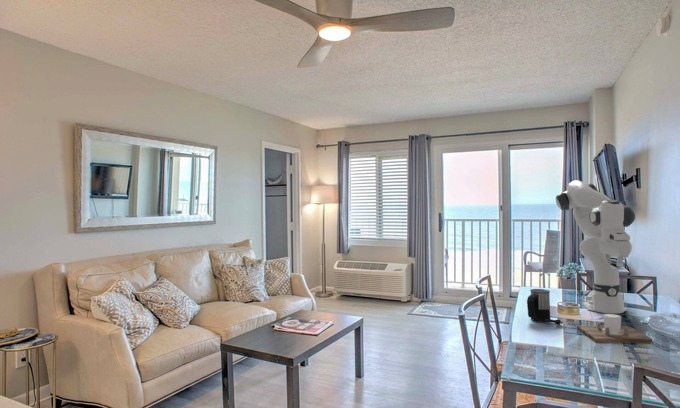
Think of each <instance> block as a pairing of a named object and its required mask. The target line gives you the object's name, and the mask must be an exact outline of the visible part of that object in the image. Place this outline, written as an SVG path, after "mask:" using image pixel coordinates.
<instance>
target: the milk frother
mask: <svg viewBox="0 0 680 408" xmlns="http://www.w3.org/2000/svg"><path fill="white" fill-rule="evenodd" d="M529 291H530V295H528V296H527V299H526V304H527V305H526V307H527V315H528V318H530V320H531V321H535V322H537V323H538V322H539V323H554V324H555V325H556V326H561V325H562V324H563V325H564V322H563V321H561V319H551V305H550V304H551V303H550V302H551V301H550V297H551V296H550V292H551V291H550V290H549V289H544V288H543V289H542V288H532V289H530V290H529Z"/></svg>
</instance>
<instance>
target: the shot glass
mask: <svg viewBox="0 0 680 408" xmlns="http://www.w3.org/2000/svg"><path fill="white" fill-rule="evenodd" d="M602 319H603V326H604V327H609V333H620V330H621V326H622V315H620V314H617V313H616V314H613V313H602Z"/></svg>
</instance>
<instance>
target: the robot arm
mask: <svg viewBox="0 0 680 408" xmlns="http://www.w3.org/2000/svg"><path fill="white" fill-rule="evenodd" d="M622 203H623V202H622V201H620V200H616V199H614V198H612V197H611V196H608V195H606V194H604V193H602V192H599V190H598V187H597V186H595V185H594V184H593V183H591V182H590V183H586V182H584V181H582V180H573V181H571V182H569V183H568V185H567V188H566V190H565V191H562V192H560V193H558V194H557V195H556V197H555V204H556V205H557V207H558V208H559V209H560V210H561V211H569V210H571V209H573V210H572V215H573V218H574V220H575V222H576V224H577V225H578V227H579V229H580V230H581V232H582V234H583V235H584V236H585V237H586V238H585V239H582V241H580V244H579V252H580V254H581V255H582V256H583V257H585V258H586V259H587V260H588V261H589V262H590V264H591V267H592V270H593V277H594V278H593V279H594V281H593V282H594V283H593V284H592V290H591V291H590V292H589V293H588V294H587V295H586V296H585V299H586V301H584V302H583V301H582V305H583V306H584V307H585V308H586V309H587V311H590V312H591V311H592V312H597V313H602V314H616V315H617V314H623V313H624V312H627V311H628V308H627V307H625V301H624V295H623V294H622V293H621V284H620V275H619V274H620V273H619V270H618V268H617V267H622V266H623V261H624V258H629V256H630V254H631V252H632V250H633V245H632V243H631V241H630V240H631V236H630V234H628V233H627V232H626V231H625V228H628V227H629V226H631V225H632V224H633V223H634V222H635V219H636V214H635V212H634V210H633V209H632V208H631V207H630V206H628V205H623V204H622ZM611 258H612V259H613V258H614V259H615V258H616V262H615V265H616V266H614V265H612V262H613V261H612V259H611Z"/></svg>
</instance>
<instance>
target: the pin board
mask: <svg viewBox="0 0 680 408" xmlns="http://www.w3.org/2000/svg"><path fill="white" fill-rule="evenodd" d="M576 330H578V331H579V332H581V333H582V334H583V335H584V336H586V337H587V338H589V339H590V340H591V341H592V342H594V343H626V344H627V343H632V344H633V343H634V344H638V343H641V344H643V343H644V344H652V343H653V339H652V337H649V336H647V335H646V334H644V333H642V332H640V331H639V330H637V329H635V328H634V327H632V326H629V325H621V330H620V333H609V327H604V325H602V322H599V321H597V325H576Z"/></svg>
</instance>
